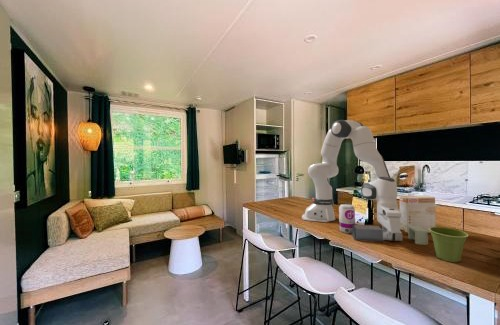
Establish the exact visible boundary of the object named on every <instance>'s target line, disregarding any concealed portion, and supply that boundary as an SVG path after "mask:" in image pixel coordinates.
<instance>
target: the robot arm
mask: <svg viewBox="0 0 500 325" xmlns="http://www.w3.org/2000/svg"><path fill="white" fill-rule="evenodd" d="M345 139H348V140H349V139H350V140H351V142H352V148H353V153H354V155H355V157H356V158H357V159H358V160H360V161H362V162H364V163H367V164H369V165H371V166H372V167H373V169H374V170H375V174H376V178H377V179H375V180H372V181H369V182H365V183H363V184H362V185H361V188H360V192H361V195H362V197H363V198H364V199H365V200H370V201H373V200H374V201H375V200H376V221H377V222H378V223H379V224H380V225H381V229H383V230H388V234H387V237H388V238H392V235H393V233H399V232H401V229H400V225H401V221H400V217H401V212H400V208H399V205H398V201H397V197H398V186H397V181H396V180H395V179H394V178H393V177H391V175H390V173H389V171H388V170H389V169H388V168H387V164H386V162H385V159H384V158H383V155H382V154H380V152H379V151H378V149H377V146H376V142H375V138H374V136H373V133H372V130H371V128H370V127H368V126H367V125H366V126H365V125H364V124H363V123H361V122H359V121H355V120H351V119H348V120H347V119H346V120H344V119H339V120H336V121H333V123H331V127H330V128H329V130H328V131H327V133H326V135H325V137H324V139H323V143H322V146H321V150H320V155H321V157H322V160H321V161H322V162H318V163H314V164H311V165H309V166H308V168H307V174H308V176H309V178H310V179H312V182H313V185H314V189H315V197H312V198H311V200H312V203H311V204H309V206H307V207H306V208H305V211H304V213H303V214H302V215H301V219H302V220H303V221H310V222H321V223H329V222H333V221H335V220H336V216H335V212H334V198H333V187H332V185H331V184H329V181H328V179H331V178H334V177H336V176H337V175H338V174H339V166H338V164H337V162H338V156H339V153H340V149H341V145H342V142H343V141H344V140H345Z"/></svg>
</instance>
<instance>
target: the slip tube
mask: <svg viewBox="0 0 500 325" xmlns="http://www.w3.org/2000/svg"><path fill="white" fill-rule="evenodd" d="M381 229H382V230H383V228H381ZM387 234H388V230H383V241H392V242H396V241H398V242H403V232H402V231H400V232H399V233H393V235H392V238H388V237H387Z"/></svg>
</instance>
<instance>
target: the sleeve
mask: <svg viewBox="0 0 500 325" xmlns="http://www.w3.org/2000/svg"><path fill="white" fill-rule="evenodd" d="M382 229H383V228H382V227H380V226H379V225H367V224H366V225H365V224H364V225H363V224H355V225H352V233H351V237H352V238H353V240H354V241H362V242H364V241H365V242H380V243H381V242H384V240H383V230H382Z"/></svg>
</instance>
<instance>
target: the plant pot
mask: <svg viewBox="0 0 500 325" xmlns="http://www.w3.org/2000/svg"><path fill="white" fill-rule="evenodd" d="M429 230H430V231H431V233H430V235H431V236H432V242H433V246H434V251H435V252H434V253H435V256H436V257H437V258H438V259H441V260H443V261H446V262H450V263H458V262H460V261H461V259H462V258H461V257H462V254H463V251H464V245H465V243H466V241H467V238H468V237H469V234H468V233H467V232H465V231H463V230H459V229H455V228H452V227H451V228H450V227H444V226H443V227H442V226H436V227H430V228H429Z"/></svg>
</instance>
